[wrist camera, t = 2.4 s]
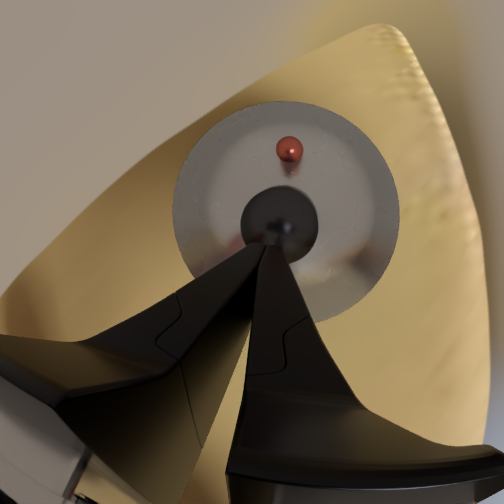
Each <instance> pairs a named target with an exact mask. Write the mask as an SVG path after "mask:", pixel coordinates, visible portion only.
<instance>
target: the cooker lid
mask: <svg viewBox="0 0 504 504" xmlns="http://www.w3.org/2000/svg"><path fill="white" fill-rule="evenodd" d="M399 222H400V216H399V201H398V194H397V190H396V186H395V183H394V179H393V176H392V174H391V172H390V170H389V167H388V165H387V163H386V161H385V159H384V158H383V156H382V155H381V153H380V152H379V150H378V149H377V147H376V146H375V145H374V144H373V143H372V141H371V140H370V139H369V138H368V137H367V136H366V135H365V134H364V133H363V132H362V131H361V130H360V129H358V128H357V127H356V126H355V125H354V124H352V123H351V122H349V121H348V120H346V119H345V118H343V117H342V116H340V115H338V114H336V113H333V112H331V111H329V110H327V109H324V108H321V107H318V106H315V105H312V104H306V103H301V102H290V101H277V102H267V103H262V104H257V105H253V106H250V107H247V108H244V109H242V110H239V111H237V112H235V113H233V114H231V115H229V116H227V117H226V118H224V119H222V120H221V121H219V122H218V123H217V124H216V125H214V126H213V127H212V128H210V129H209V130H208V131H207V132H206V133H205V134H204V135H203V136H202V137H201V138H200V139H199V141H198V142H197V143H196V145H195V146H194V147H193V149H192V150H191V151H190V153H189V155H188V157H187V158H186V160H185V162H184V164H183V166H182V169H181V171H180V174H179V176H178V179H177V183H176V187H175V191H174V199H173V224H174V231H175V236H176V240H177V244H178V247H179V250H180V252H181V255H182V257H183V260H184V262H185V263H186V265H187V267H188V269H189V271H190V272H191V274H192V275H193V277H194V278H195V279H196V278H197V277H199V276H200V275H202V274H203V273H205V272H207V271H208V270H210V269H211V268H213V267H214V266H216V265H217V264H219V263H221V262H222V261H224V260H225V259H227V258H228V257H230V256H232V255H233V254H235V253H236V252H238V251H239V250H241V249H243V248H244V247H246V246H247V245H249V244H250V243H252V242H255V243H262V244H265V245H266V246H267V245H276V246H281V247H282V249H283V251H284V253H285V256H286V258H287V260H288V263H289V265H290V267H291V270H292V272H293V274H294V277H295V279H296V281H297V284H298V286H299V288H300V291H301V293H302V295H303V298H304V300H305V302H306V305H307V307H308V310H309V312H310V314H311V317H312V319H313V321H314V323H317V322H320V321H324V320H327V319H329V318H332V317H334V316H336V315H339V314H340V313H342V312H344V311H346V310H347V309H349V308H351V307H352V306H353V305H355V304H356V303H357V302H359V301H360V300H361V299H362V298H363V297H364V296H365V295H366V294H367V293H369V292H370V291H371V290H372V288H373V287H374V286H375V285H376V283H377V282H378V281H379V279H380V278H381V277H382V275H383V273H384V271H385V270H386V268H387V266H388V264H389V262H390V260H391V257H392V255H393V252H394V249H395V245H396V242H397V238H398V231H399Z"/></svg>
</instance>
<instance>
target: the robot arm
mask: <svg viewBox="0 0 504 504" xmlns="http://www.w3.org/2000/svg"><path fill="white" fill-rule="evenodd" d="M250 328H251V330H250ZM249 331H250V339H249V348H248V356H247V365H246V373H245V382H244V389H243V396H242V401H241V406H240V410H239V415H238V419H237V423H236V428H235V432H234V436H233V440H232V445H231V449H230V453H229V457H228V462H227V466H226V471H225V476H226V483H227V490H228V497H229V503H230V504H477V503H478V502H480V501H482V500H484V499H486V498H488V497H490V496H492V495H493V494H495V493H497V492H499V491H501V490H502V489H504V453H503V452H501V451H500V450H498V449H496V448H495V447H493V446H491V445H485V444H483V445H471V446H447V445H442V444H439V443H435V442H432V441H430V440H427V439H425V438H423V437H421V436H419V435H417V434H414V433H412V432H410V431H408V430H406V429H404V428H402V427H400V426H398V425H396V424H394V423H392V422H390V421H388V420H386V419H385V418H383V417H381V416H379V415H377V414H375V413H373V412H371V411H370V410H368V409H367V408H366V407H365V406H364V405H363V404H362V403H361V402H360V401H359V400H358V398H357V397H356V396H355V394H354V393H353V391H352V389H351V388H350V386H349V385H348V383H347V381H346V380H345V378H344V376H343V375H342V373H341V371H340V370H339V368H338V367H337V365H336V363H335V362H334V360H333V358H332V357H331V355H330V353H329V352H328V350H327V348H326V346H325V344H324V343H323V341H322V339H321V337H320V335H319V332H318V330H317V328H316V326H315V324H314V321H313V319H312V317H311V314H310V312H309V310H308V307H307V305H306V302H305V300H304V298H303V295H302V293H301V291H300V288H299V286H298V284H297V281H296V279H295V277H294V274H293V272H292V270H291V267H290V265H289V263H288V260H287V258H286V256H285V253H284V251H283V249H282V247H281V246H276V245H267V246H266V245H265V244H262V243H255V242H252V243H250V244H249V245H247V246H246V247H244V248H243V249H241V250H239V251H238V252H236V253H235V254H233V255H232V256H230V257H228V258H227V259H225V260H224V261H222V262H221V263H219V264H217V265H216V266H214V267H213V268H211V269H210V270H208V271H207V272H205V273H203V274H202V275H200V276H199V277H197V278H196V279H194V280H193V281H191V282H189V283H188V284H186V285H185V286H183V287H182V288H180V289H179V290H177V291H176V292H175V293H172V294H171V295H169V296H167V297H166V298H164V299H163V300H161V301H159V302H158V303H156V304H154V305H153V306H151V307H150V308H148V309H146V310H144V311H142V312H140V313H138V314H137V315H135V316H133V317H131V318H129V319H127V320H125V321H123V322H121V323H119V324H117V325H115V326H113V327H111V328H109V329H107V330H105V331H103V332H101V333H99V334H97V335H95V336H93V337H91V338H89V339H86V340H82V341H77V342H60V341H50V340H41V339H32V338H24V337H16V336H9V335H2V334H0V504H179V502H180V500H181V498H182V495H183V493H184V491H185V488H186V486H187V484H188V481H189V479H190V477H191V474H192V472H193V470H194V467H195V465H196V463H197V460H198V458H199V455H200V453H201V449H202V448H203V446H204V443H205V441H206V438H207V436H208V434H209V431H210V429H211V426H212V424H213V422H214V419H215V417H216V414H217V412H218V409H219V407H220V404H221V402H222V399H223V397H224V394H225V392H226V389H227V387H228V384H229V382H230V379H231V377H232V374H233V372H234V369H235V367H236V364H237V362H238V359H239V357H240V354H241V352H242V349H243V346H244V344H245V341H246V339H247V336H248V334H249Z"/></svg>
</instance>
